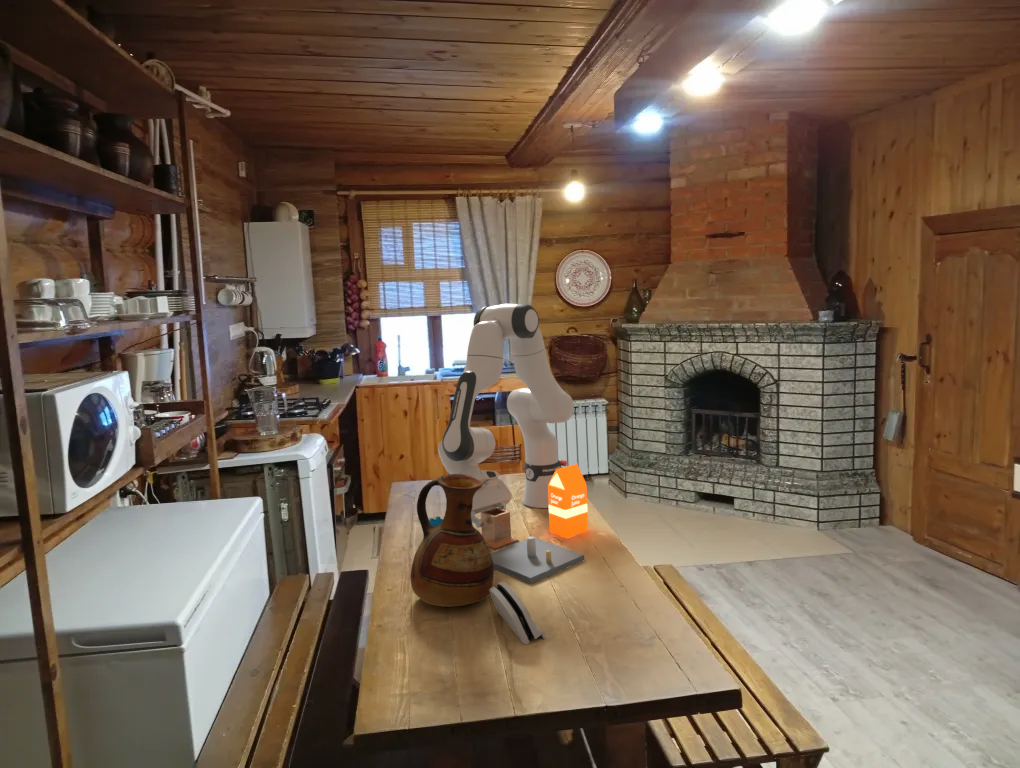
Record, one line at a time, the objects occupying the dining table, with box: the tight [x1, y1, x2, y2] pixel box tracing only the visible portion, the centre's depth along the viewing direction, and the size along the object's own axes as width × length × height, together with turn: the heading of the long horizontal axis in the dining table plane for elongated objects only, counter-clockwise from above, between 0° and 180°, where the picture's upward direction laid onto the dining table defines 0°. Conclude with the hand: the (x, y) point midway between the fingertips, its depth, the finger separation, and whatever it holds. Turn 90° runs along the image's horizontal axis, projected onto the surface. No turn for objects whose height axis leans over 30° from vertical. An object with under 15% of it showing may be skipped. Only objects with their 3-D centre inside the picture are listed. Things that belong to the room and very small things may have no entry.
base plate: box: [490, 536, 586, 584], centre depth 187 cm, size 20×20×6 cm
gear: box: [428, 516, 444, 526], centre depth 207 cm, size 11×6×10 cm
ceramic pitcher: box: [410, 474, 495, 607], centre depth 165 cm, size 20×20×30 cm
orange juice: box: [548, 463, 589, 539], centre depth 207 cm, size 8×9×20 cm
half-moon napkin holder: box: [489, 581, 547, 645], centre depth 152 cm, size 17×5×10 cm, turn 21°
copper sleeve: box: [480, 507, 520, 551], centre depth 202 cm, size 9×9×9 cm
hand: (493, 522), depth 202 cm, fingers open, 8 cm apart
